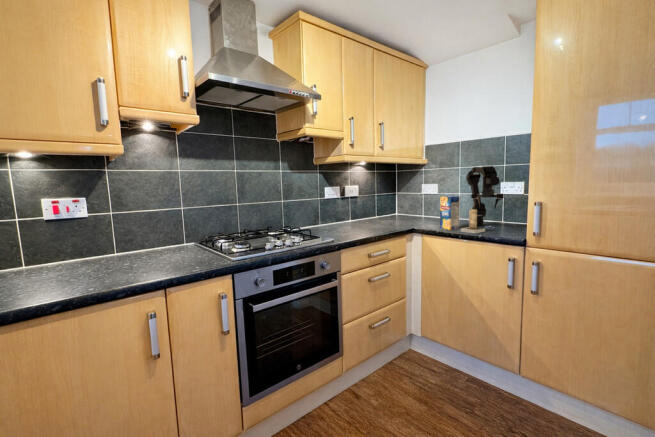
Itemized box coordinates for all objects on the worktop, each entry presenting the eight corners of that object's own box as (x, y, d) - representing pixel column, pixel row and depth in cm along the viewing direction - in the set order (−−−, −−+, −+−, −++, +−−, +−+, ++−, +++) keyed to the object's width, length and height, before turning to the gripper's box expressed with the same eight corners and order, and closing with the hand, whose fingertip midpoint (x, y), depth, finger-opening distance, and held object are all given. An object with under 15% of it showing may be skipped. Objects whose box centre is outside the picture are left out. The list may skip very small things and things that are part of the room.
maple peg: (467, 231, 195) (467, 209, 194) (473, 230, 196) (474, 209, 194) (471, 232, 191) (472, 210, 189) (478, 231, 192) (478, 209, 190)
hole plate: (460, 231, 195) (460, 228, 195) (470, 229, 200) (470, 226, 200) (474, 233, 187) (474, 230, 186) (485, 231, 191) (485, 228, 191)
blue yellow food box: (450, 230, 201) (450, 196, 199) (439, 227, 212) (440, 196, 209) (459, 229, 203) (459, 196, 201) (448, 227, 214) (448, 195, 211)
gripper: (470, 186, 198) (469, 209, 200) (503, 185, 188) (502, 210, 190) (472, 185, 207) (472, 208, 209) (504, 185, 198) (503, 208, 199)
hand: (486, 209), depth 202 cm, fingers open, 9 cm apart
